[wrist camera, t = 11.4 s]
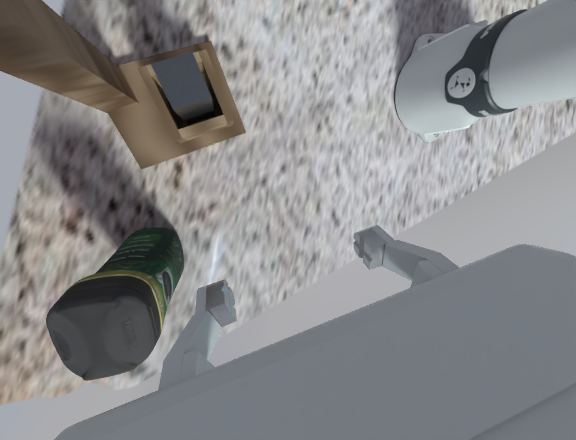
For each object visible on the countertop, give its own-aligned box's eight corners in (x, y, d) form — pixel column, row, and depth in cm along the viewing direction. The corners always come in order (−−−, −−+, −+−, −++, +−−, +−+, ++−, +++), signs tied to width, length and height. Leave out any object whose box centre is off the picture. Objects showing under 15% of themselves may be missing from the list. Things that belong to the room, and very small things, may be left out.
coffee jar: (123, 229, 32) (12, 308, 15) (179, 224, 34) (137, 289, 17) (137, 283, 35) (55, 402, 18) (188, 275, 37) (159, 374, 20)
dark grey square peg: (202, 85, 29) (192, 52, 20) (214, 115, 31) (211, 97, 21) (173, 94, 28) (150, 63, 19) (188, 124, 30) (173, 109, 21)
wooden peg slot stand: (211, 45, 29) (193, -129, 11) (245, 132, 33) (270, 104, 16) (90, 77, 26) (-175, -84, 9) (144, 168, 31) (39, 182, 13)
